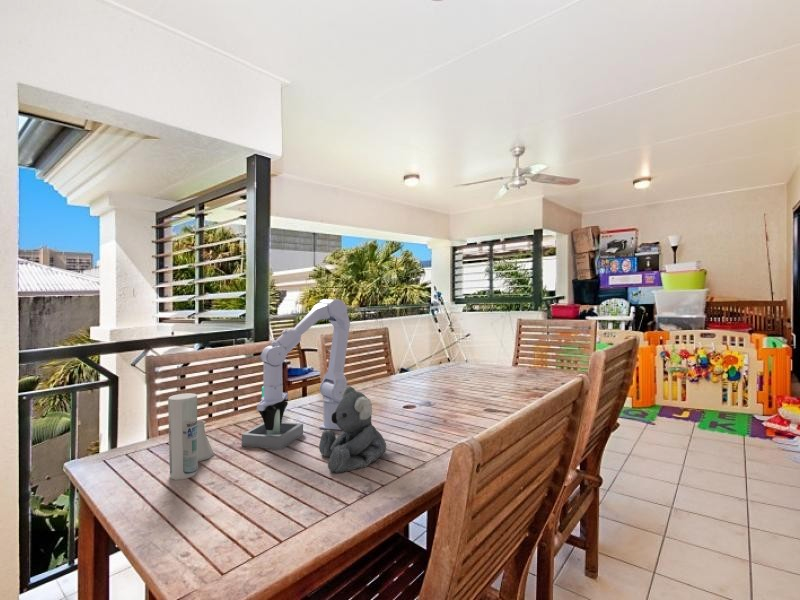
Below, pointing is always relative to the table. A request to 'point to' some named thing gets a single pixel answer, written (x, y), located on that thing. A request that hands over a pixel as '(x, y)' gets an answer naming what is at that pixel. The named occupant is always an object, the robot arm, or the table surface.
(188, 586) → the table surface
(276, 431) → the cylinder
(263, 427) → the bin
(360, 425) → the koala plush
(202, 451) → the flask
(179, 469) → the spray can
